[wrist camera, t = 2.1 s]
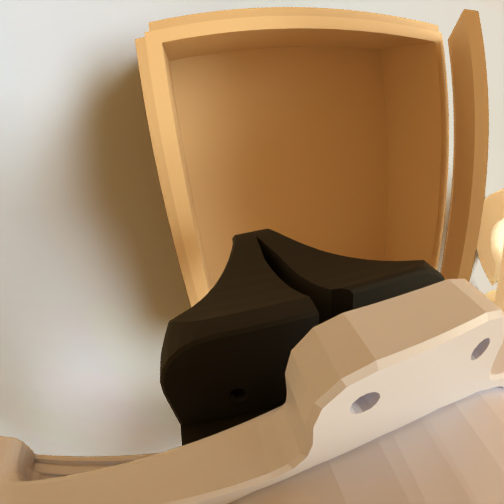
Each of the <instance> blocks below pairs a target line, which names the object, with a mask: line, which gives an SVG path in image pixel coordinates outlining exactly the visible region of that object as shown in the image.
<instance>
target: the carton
mask: <svg viewBox="0 0 504 504" xmlns="http://www.w3.org/2000/svg"><path fill="white" fill-rule="evenodd" d="M149 29H150V31H149V32H145V37H143V38H139V39H135V43H136V50H137V58H138V65H139V72H140V78H141V85H142V91H143V97H144V103H145V109H146V115H147V120H148V126H149V131H150V136H151V142H152V147H153V152H154V157H155V162H156V167H157V171H158V176H159V181H160V185H161V190H162V195H163V199H164V203H165V208H166V212H167V216H168V220H169V225H170V229H171V233H172V237H173V241H174V245H175V249H176V253H177V257H178V261H179V264H180V268H181V272H182V276H183V279H184V283H185V287H186V290H187V294H188V297H189V301H190V304H191V307H193V306H194V305H195V304H196V303H198V302H199V301H200V300H201V299H202V298H203V297H205V296H206V295H207V294H208V292H209V291H210V290H211V289H212V288H213V287H214V285H215V284H216V283H217V281H218V280H219V278H220V276H221V275H222V273H223V271H224V269H225V266H226V264H227V262H228V260H229V257H230V253H231V250H232V245H233V241H232V238H233V237H234V235H238V234H243V233H247V232H252V231H258V230H263V229H271V230H273V231H275V232H278V233H280V234H282V235H284V236H286V237H288V238H291V239H293V240H295V241H297V242H300V243H302V244H305V245H307V246H310V247H313V248H316V249H319V250H322V251H325V252H329V253H333V254H337V255H341V256H346V257H352V258H359V259H367V260H380V261H410V260H425V261H426V262H427V263H428V264H429V265H431V266H432V267H433V268H434V269H436V270H437V266H438V260H439V253H440V247H441V240H442V232H443V224H444V215H445V205H446V193H447V179H448V156H449V112H448V90H447V76H446V65H445V56H444V47H443V40H442V33H439V30H438V25H434V24H430V23H425V22H421V21H416V20H411V19H406V18H401V17H396V16H390V15H383V14H377V13H369V12H361V11H352V10H342V9H328V8H306V7H271V8H248V9H235V10H224V11H215V12H206V13H199V14H192V15H186V16H180V17H174V18H169V19H164V20H159V21H154V22H149Z"/></svg>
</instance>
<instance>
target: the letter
mask: <svg viewBox="0 0 504 504" xmlns="http://www.w3.org/2000/svg"><path fill="white" fill-rule="evenodd" d="M503 230H504V188H503V189H501V190H499V191H497V192H495V193H493V194H491V195H489V196H488V197H487V198H486V199H485V200H484V204H483V211H482V218H481V225H480V231H479V237H478V242H477V252H478V256H479V259H480V262H481V265H482V267H483V270H484V272H485V274H486V276H487V278H488V279H489V281H490V283H491V284H492V285H493V284H495V283H496V282H498V286H497V290H492V291H489V292H488V293H486V294H485V296H486V297H488V298H489V299H490V300H491V301H492V302H493V303H495V304H496V305H497V306H498V307H499V308H500V309H502V311H503V313H504V232H503Z"/></svg>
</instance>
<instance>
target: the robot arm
mask: <svg viewBox="0 0 504 504" xmlns="http://www.w3.org/2000/svg"><path fill="white" fill-rule="evenodd" d="M232 241H233V245H232V250H231V253H230V257H229V260H228V262H227V264H226V266H225V269H224V271H223V273H222V275H221V276H220V278H219V280H218V281H217V283H216V284H215V285H214V287H213V288H212V289H211V290H210V291H209V292H208V294H207V295H206V296H205V297H203V298H202V299H201V300H200V301H199V302H198V303H196V304H195V305H194V306H193V307H191V308H190V309H189V310H187V311H185V312H184V313H182V314H181V315H179V316H177V317H176V318H174V319H172V320H171V321H170V322H169V324H168V327H167V330H166V334H165V338H164V342H163V347H162V352H161V362H160V383H161V387H162V390H163V393H164V395H165V397H166V399H167V401H168V403H169V404H170V406H171V408H172V410H173V412H174V414H175V415H176V417H177V419H178V421H179V423H180V424H181V436H182V446H180V447H177V448H174V449H171V450H168V451H165V452H162V453H155V454H143V455H127V456H94V457H85V456H53V455H38V454H34V452H33V451H32V450H31V449H30V448H29V447H28V446H27V445H26V444H25V443H23V442H22V441H20V440H18V439H16V438H12V437H3V436H0V504H504V313H503V311H502V309H500V308H499V307H498V306H497V305H496V304H495V303H493V302H492V301H491V300H490V299H489V298H488V297H486V296H485V295H484V294H483V293H482V292H480V291H479V290H478V289H477V288H475V287H474V286H473V285H472V284H471V283H469V282H468V281H467V280H466V279H447V280H445V278H444V276H443V275H442V274H440V273H439V272H438V271H437V270H436V269H434V268H433V267H432V266H431V265H429V264H428V263H427V262H426V261H425V260H410V261H380V260H367V259H359V258H352V257H346V256H341V255H337V254H333V253H329V252H325V251H322V250H319V249H316V248H313V247H310V246H307V245H305V244H302V243H300V242H297V241H295V240H293V239H291V238H288V237H286V236H284V235H282V234H280V233H278V232H275V231H273V230H271V229H263V230H258V231H252V232H247V233H243V234H238V235H234V237H233V238H232Z"/></svg>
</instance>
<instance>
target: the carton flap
mask: <svg viewBox="0 0 504 504" xmlns="http://www.w3.org/2000/svg"><path fill="white" fill-rule="evenodd" d="M448 45H449V54H450V63H451V74H452V87H453V107H454V157H453V178H452V192H451V203H450V213H449V222H448V230H447V237H446V244H445V251H444V257H443V263H442V268H441V274H442V275H443V276H444V278H445V280H447V279H466V280H467V281H468V282H469V280H470V276H471V271H472V267H473V262H474V258H475V253H476V248H477V242H478V237H479V231H480V225H481V218H482V211H483V204H484V195H485V186H486V175H487V160H488V136H489V109H488V85H487V71H486V61H485V52H484V44H483V37H482V30H481V24H480V18H479V13H478V11H474V10H466V9H464V10H463V12H462V14H461V16H460V18H459V20H458V22H457V24H456V26H455V27H454V29H453V31H452V33H451V35H450V37H449V39H448Z"/></svg>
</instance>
